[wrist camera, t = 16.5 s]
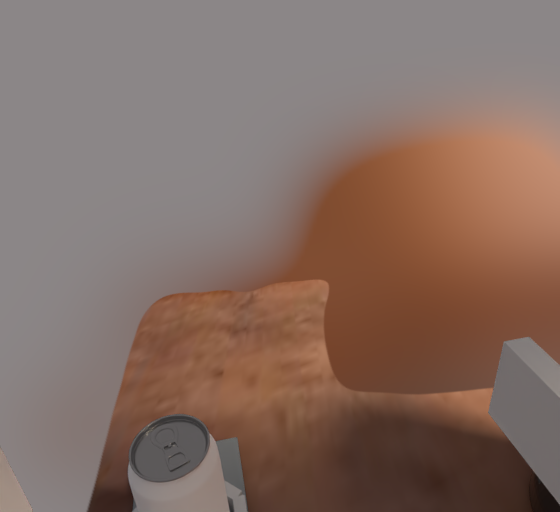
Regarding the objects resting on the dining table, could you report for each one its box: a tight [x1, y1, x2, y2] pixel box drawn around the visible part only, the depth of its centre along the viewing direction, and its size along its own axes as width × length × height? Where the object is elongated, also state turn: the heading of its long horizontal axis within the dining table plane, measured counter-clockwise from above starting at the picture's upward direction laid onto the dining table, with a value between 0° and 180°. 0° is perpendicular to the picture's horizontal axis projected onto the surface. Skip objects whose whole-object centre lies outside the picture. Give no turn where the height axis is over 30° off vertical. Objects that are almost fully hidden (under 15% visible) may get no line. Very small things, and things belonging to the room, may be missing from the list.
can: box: [128, 414, 230, 512], centre depth 35 cm, size 6×6×12 cm
